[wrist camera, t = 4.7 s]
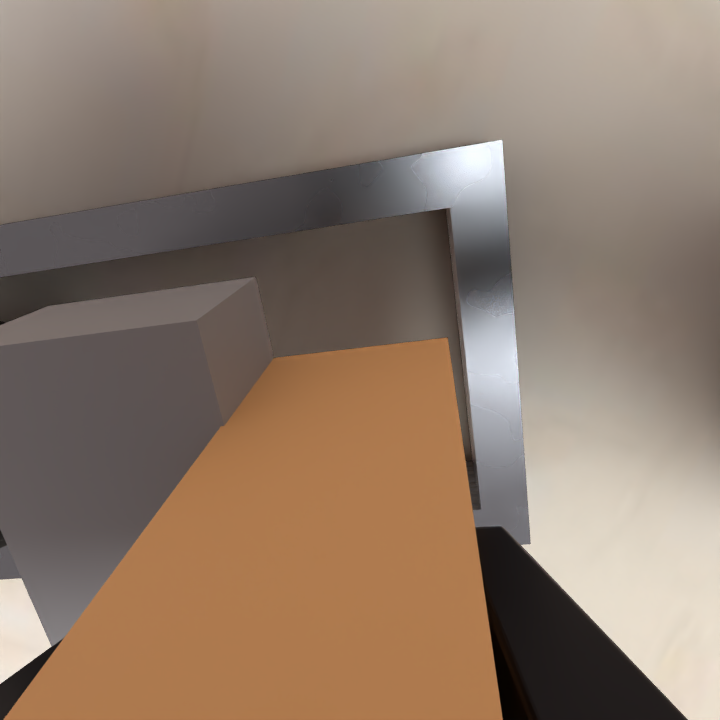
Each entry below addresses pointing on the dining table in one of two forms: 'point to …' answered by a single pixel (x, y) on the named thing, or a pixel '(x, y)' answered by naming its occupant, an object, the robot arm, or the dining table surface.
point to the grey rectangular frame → (335, 207)
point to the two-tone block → (238, 518)
